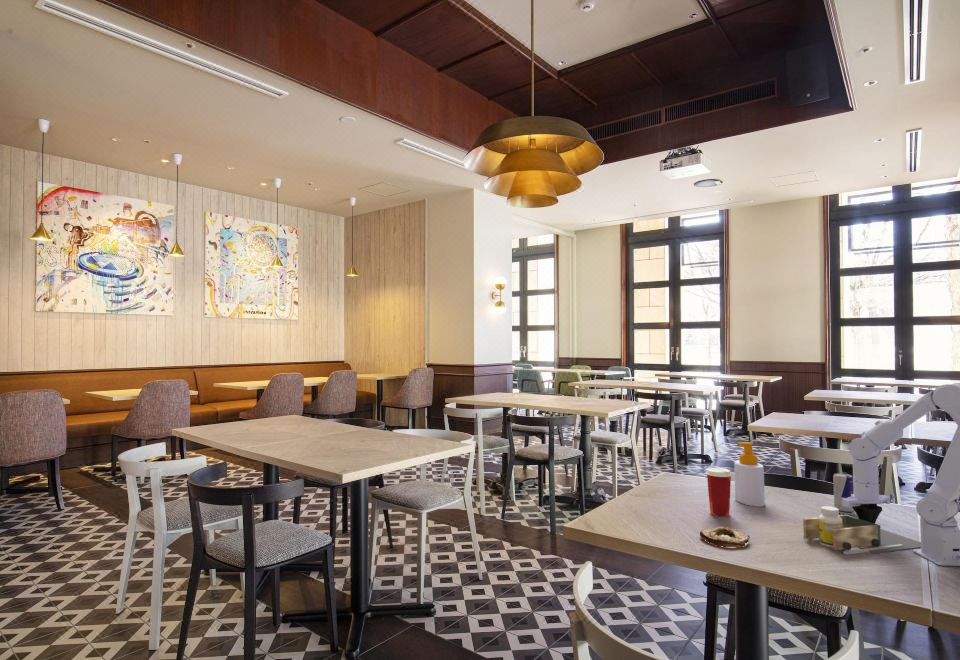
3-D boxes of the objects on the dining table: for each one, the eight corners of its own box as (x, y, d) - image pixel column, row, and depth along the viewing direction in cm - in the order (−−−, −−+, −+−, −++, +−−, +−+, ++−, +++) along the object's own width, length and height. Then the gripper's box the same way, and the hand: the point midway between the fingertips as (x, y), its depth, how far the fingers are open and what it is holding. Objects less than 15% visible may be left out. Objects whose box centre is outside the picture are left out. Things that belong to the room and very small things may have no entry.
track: (873, 527, 159) (873, 525, 159) (930, 546, 144) (930, 544, 144) (799, 536, 152) (799, 533, 152) (851, 556, 137) (851, 554, 137)
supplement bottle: (821, 540, 149) (819, 504, 150) (844, 544, 146) (843, 507, 146) (818, 545, 145) (816, 508, 145) (842, 550, 142) (841, 512, 142)
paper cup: (738, 515, 171) (737, 471, 172) (719, 518, 168) (718, 473, 169) (719, 509, 179) (718, 466, 179) (701, 512, 176) (700, 468, 176)
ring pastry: (684, 535, 155) (684, 520, 155) (729, 531, 158) (729, 517, 158) (718, 554, 140) (718, 537, 141) (767, 549, 144) (766, 533, 144)
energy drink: (857, 515, 170) (856, 477, 171) (838, 514, 172) (837, 476, 172) (849, 510, 176) (848, 473, 176) (831, 510, 177) (830, 473, 177)
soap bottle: (729, 496, 194) (727, 439, 195) (752, 496, 193) (751, 439, 194) (746, 507, 181) (744, 446, 181) (771, 507, 180) (769, 446, 181)
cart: (842, 530, 154) (842, 513, 154) (885, 545, 142) (884, 526, 142) (800, 535, 150) (799, 517, 151) (840, 551, 138) (839, 531, 139)
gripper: (872, 476, 155) (874, 524, 154) (831, 480, 151) (833, 529, 151) (897, 482, 148) (899, 532, 147) (855, 486, 144) (856, 537, 144)
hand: (867, 531), depth 149 cm, fingers closed
